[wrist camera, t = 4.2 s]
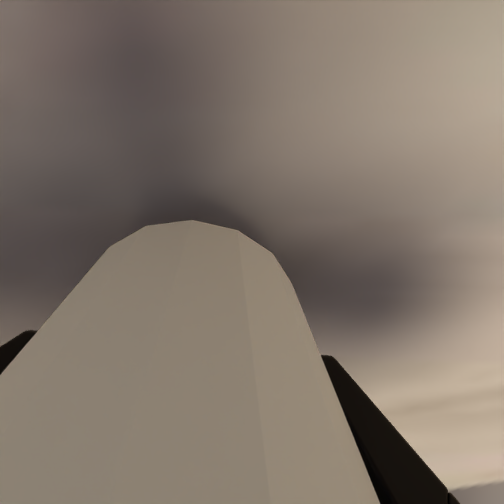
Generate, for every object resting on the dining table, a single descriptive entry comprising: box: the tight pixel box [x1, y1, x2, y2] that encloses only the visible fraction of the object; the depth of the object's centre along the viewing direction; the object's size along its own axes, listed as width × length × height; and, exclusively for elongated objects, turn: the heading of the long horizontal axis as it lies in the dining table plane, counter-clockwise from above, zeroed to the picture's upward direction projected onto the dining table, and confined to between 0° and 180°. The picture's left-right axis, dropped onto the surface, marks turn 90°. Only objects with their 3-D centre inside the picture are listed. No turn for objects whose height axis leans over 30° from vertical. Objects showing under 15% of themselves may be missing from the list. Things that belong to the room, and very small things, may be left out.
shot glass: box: [0, 220, 380, 504], centre depth 7 cm, size 7×7×7 cm
